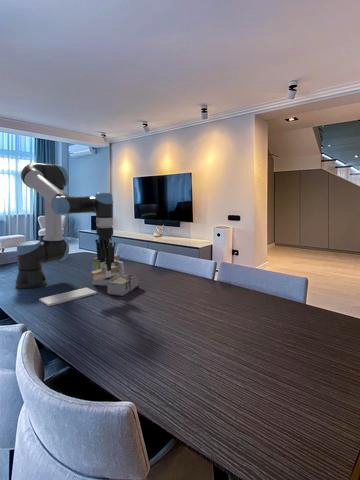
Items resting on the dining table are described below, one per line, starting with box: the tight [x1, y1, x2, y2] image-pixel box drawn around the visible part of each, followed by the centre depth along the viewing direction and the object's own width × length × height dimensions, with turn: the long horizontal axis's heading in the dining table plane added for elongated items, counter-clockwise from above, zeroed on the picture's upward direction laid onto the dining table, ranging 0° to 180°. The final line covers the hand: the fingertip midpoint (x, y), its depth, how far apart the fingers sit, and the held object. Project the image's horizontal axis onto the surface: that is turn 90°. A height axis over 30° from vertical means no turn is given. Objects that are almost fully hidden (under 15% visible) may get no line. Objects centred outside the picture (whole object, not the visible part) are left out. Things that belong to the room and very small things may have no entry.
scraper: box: [90, 260, 125, 282], centre depth 142 cm, size 8×14×6 cm, turn 136°
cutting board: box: [38, 287, 98, 307], centre depth 145 cm, size 10×24×1 cm, turn 136°
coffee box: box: [106, 273, 140, 297], centre depth 155 cm, size 9×6×16 cm
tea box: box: [91, 253, 121, 286], centre depth 170 cm, size 15×10×15 cm, turn 168°
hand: (105, 276), depth 142 cm, fingers closed on scraper, 3 cm apart
